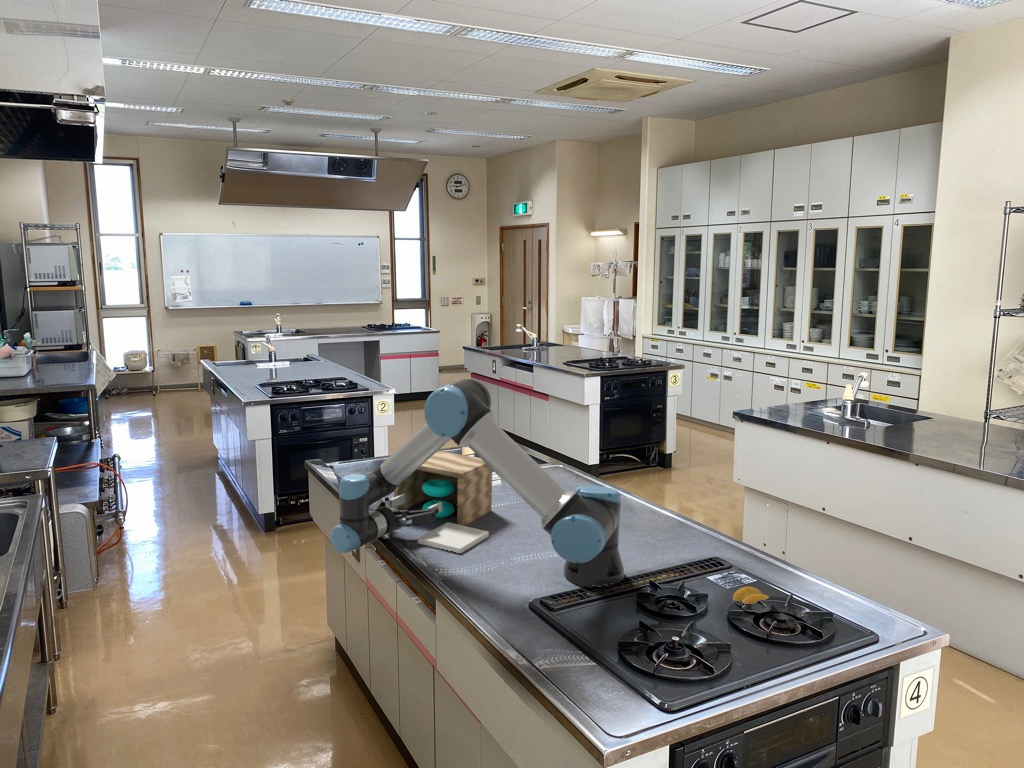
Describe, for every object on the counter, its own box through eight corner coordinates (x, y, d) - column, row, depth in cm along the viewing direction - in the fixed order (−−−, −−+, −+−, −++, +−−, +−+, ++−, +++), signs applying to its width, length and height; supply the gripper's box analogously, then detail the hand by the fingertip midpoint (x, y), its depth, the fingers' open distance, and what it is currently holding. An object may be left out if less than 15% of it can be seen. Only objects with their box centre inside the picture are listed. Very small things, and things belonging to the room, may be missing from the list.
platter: (460, 554, 199) (460, 548, 199) (417, 543, 206) (417, 538, 206) (488, 536, 212) (488, 531, 212) (447, 527, 219) (447, 522, 219)
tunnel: (461, 527, 219) (462, 473, 216) (394, 511, 231) (394, 460, 228) (491, 510, 234) (492, 460, 231) (426, 496, 246) (427, 448, 243)
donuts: (460, 480, 231) (445, 489, 222) (459, 511, 233) (444, 521, 224) (432, 476, 235) (416, 484, 226) (431, 506, 237) (416, 516, 227)
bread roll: (751, 618, 168) (752, 601, 168) (727, 600, 177) (728, 585, 176) (780, 612, 171) (782, 596, 171) (755, 596, 180) (756, 580, 179)
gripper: (342, 527, 211) (389, 506, 229) (414, 545, 199) (457, 522, 217) (342, 502, 209) (389, 483, 228) (414, 518, 198) (457, 497, 216)
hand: (422, 502), depth 222 cm, fingers open, 13 cm apart
